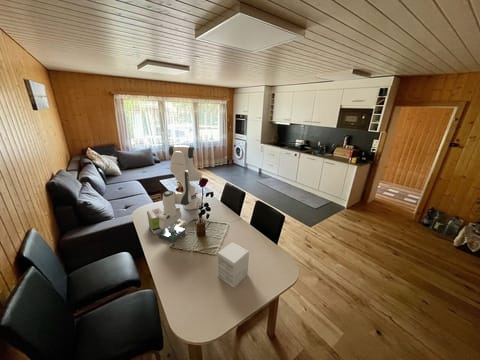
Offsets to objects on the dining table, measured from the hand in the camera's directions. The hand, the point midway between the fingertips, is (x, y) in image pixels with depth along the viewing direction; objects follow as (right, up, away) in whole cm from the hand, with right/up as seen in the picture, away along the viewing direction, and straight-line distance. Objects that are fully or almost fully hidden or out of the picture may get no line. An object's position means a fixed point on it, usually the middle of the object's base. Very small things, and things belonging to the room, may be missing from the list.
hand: (171, 228), depth 150 cm
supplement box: (+49, -20, -33) cm, 63 cm away
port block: (0, -7, +2) cm, 7 cm away
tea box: (-16, -3, +11) cm, 20 cm away
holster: (-1, -2, +16) cm, 16 cm away
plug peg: (0, -6, +2) cm, 7 cm away
